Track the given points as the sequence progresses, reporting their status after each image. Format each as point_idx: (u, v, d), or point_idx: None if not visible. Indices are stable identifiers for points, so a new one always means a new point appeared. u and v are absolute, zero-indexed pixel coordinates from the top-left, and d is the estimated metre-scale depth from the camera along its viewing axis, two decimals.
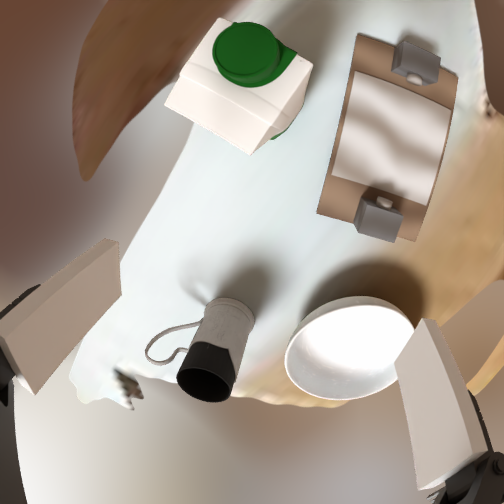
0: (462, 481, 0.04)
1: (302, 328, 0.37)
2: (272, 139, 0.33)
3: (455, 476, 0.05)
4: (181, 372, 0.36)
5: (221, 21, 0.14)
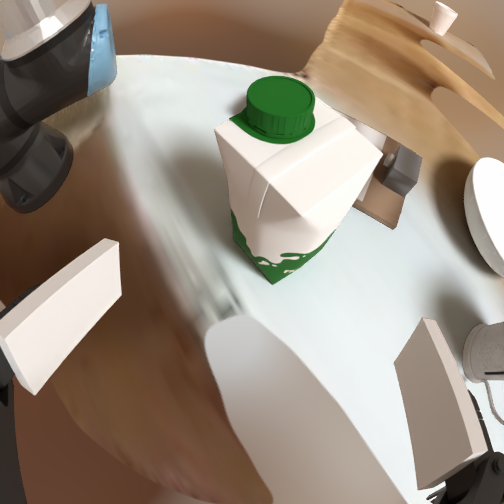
0: (462, 481, 0.04)
1: (498, 251, 0.26)
2: None
3: (455, 476, 0.05)
4: None
5: (220, 127, 0.16)
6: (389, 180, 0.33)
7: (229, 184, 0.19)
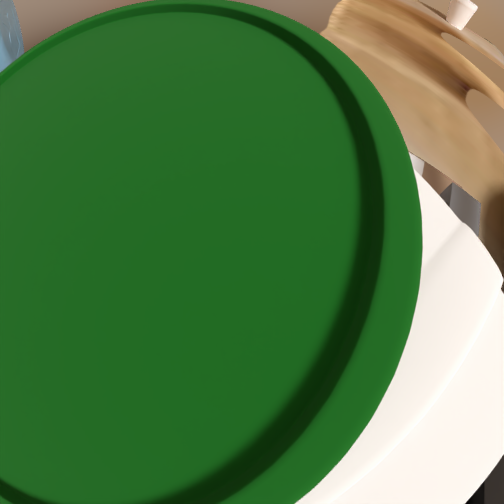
0: None
1: None
2: None
3: None
4: None
5: None
6: None
7: None
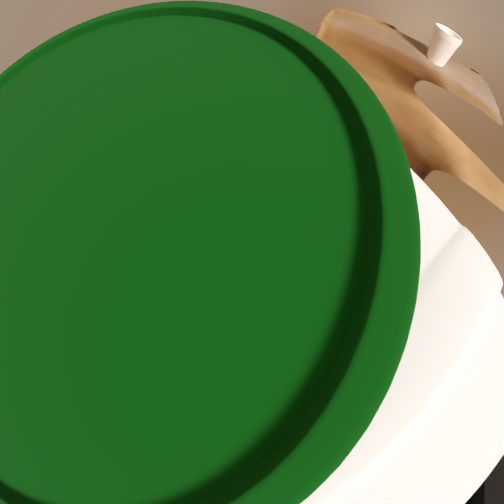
0: None
1: None
2: None
3: None
4: None
5: None
6: None
7: None
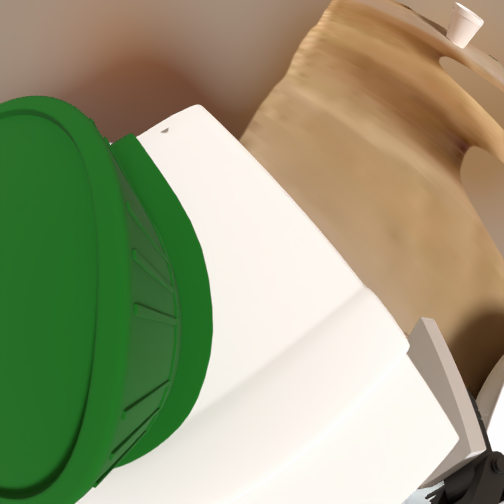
0: (460, 480, 0.04)
1: None
2: None
3: (454, 476, 0.05)
4: None
5: None
6: None
7: None
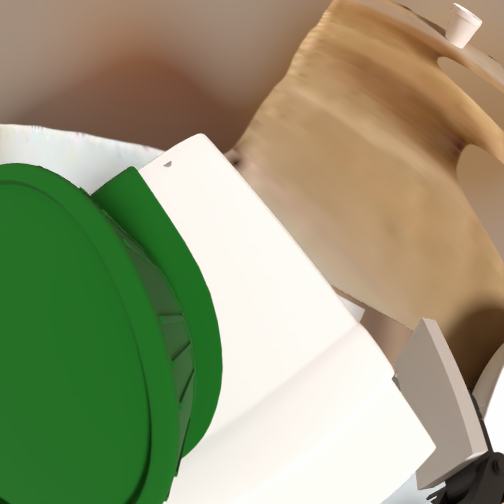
0: (462, 481, 0.04)
1: None
2: None
3: (455, 476, 0.05)
4: None
5: None
6: None
7: None
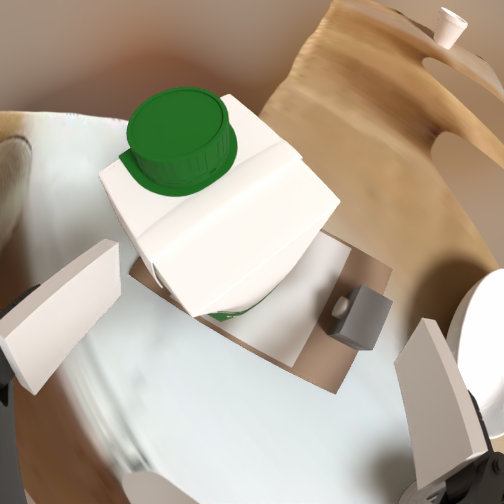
0: (461, 481, 0.04)
1: None
2: None
3: (455, 476, 0.05)
4: None
5: (106, 171, 0.11)
6: (336, 337, 0.25)
7: None
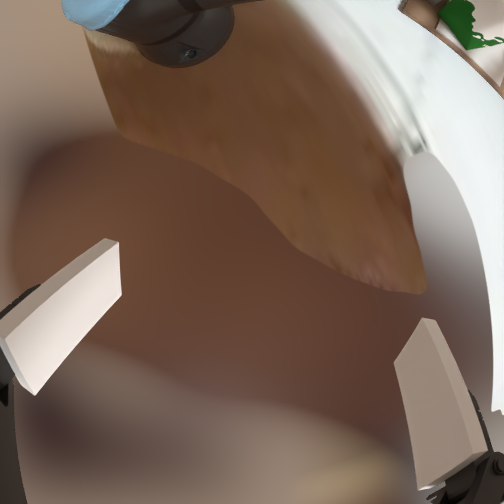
0: (462, 481, 0.04)
1: None
2: None
3: (455, 476, 0.05)
4: None
5: None
6: None
7: None
